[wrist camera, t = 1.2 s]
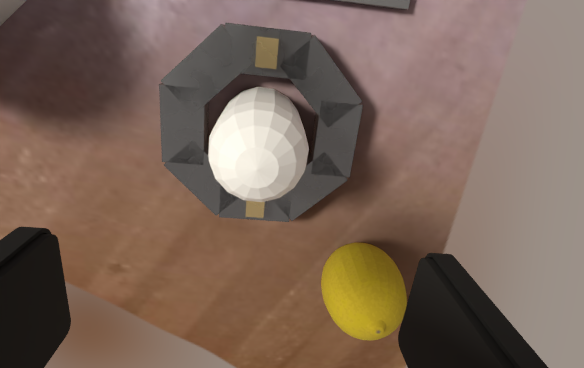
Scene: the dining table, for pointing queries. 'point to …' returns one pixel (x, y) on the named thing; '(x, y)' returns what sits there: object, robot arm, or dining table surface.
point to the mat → (382, 3)
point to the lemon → (363, 291)
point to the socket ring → (265, 62)
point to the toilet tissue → (8, 8)
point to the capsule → (258, 145)
